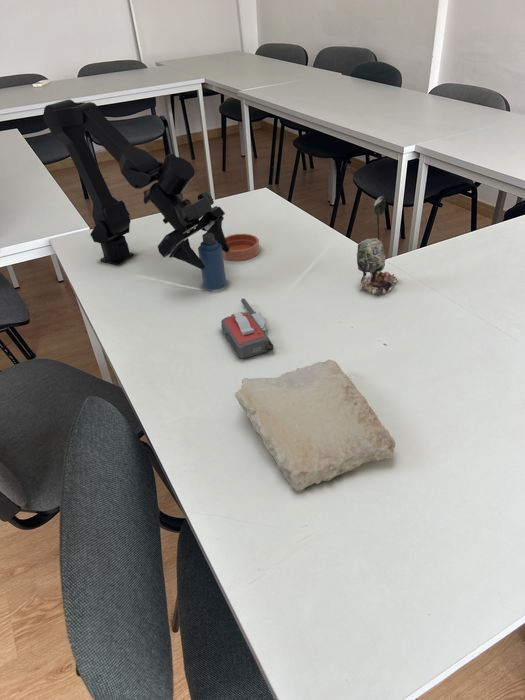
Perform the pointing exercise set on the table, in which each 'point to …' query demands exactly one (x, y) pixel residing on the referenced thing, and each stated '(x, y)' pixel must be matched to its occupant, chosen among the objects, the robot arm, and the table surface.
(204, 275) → the blue bottle
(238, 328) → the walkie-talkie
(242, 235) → the dish
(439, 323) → the table surface
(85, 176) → the robot arm
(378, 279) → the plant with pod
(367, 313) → the table surface
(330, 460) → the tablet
